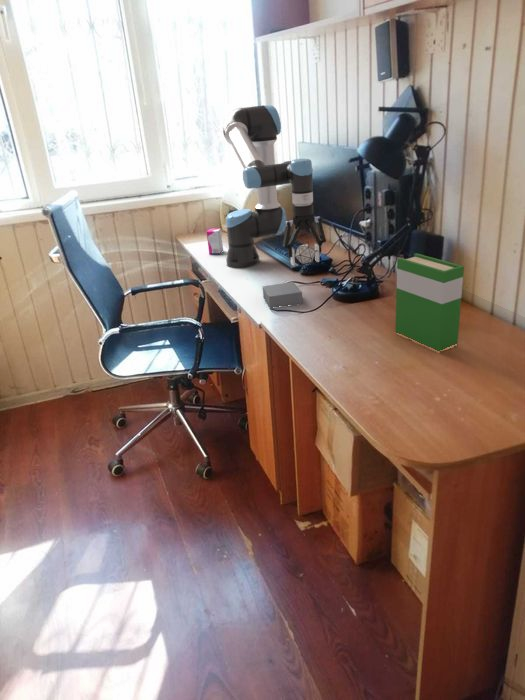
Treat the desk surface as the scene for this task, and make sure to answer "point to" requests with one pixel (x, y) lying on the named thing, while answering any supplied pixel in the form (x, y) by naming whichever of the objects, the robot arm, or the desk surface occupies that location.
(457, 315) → the hardback book
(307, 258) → the game die
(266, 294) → the base block
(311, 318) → the desk surface
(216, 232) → the supplement box
